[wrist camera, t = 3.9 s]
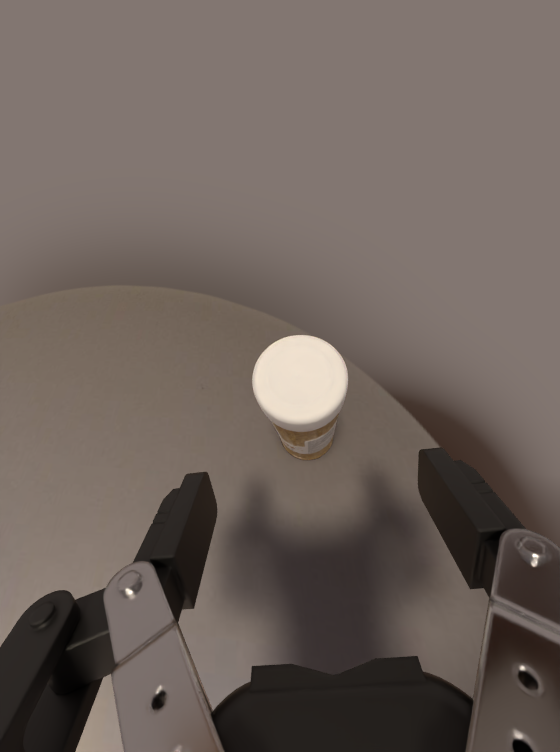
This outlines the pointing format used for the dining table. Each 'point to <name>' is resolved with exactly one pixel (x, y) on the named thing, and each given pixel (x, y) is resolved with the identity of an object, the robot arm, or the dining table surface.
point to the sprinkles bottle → (301, 392)
